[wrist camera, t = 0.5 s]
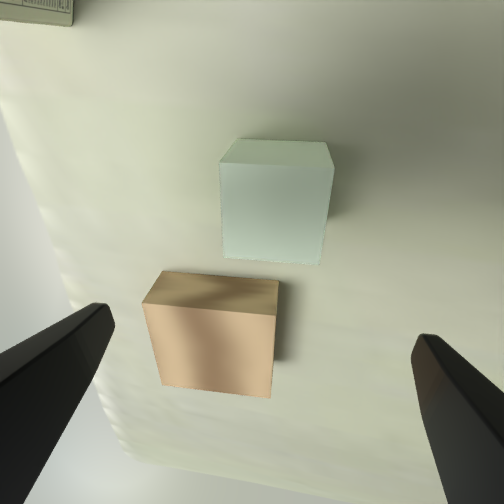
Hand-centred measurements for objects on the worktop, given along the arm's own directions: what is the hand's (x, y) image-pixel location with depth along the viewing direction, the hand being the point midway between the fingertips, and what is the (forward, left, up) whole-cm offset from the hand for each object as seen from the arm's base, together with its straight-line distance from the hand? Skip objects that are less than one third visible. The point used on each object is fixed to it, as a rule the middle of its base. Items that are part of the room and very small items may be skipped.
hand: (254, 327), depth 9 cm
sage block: (0, 0, -12) cm, 12 cm away
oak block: (+4, +12, -12) cm, 17 cm away
